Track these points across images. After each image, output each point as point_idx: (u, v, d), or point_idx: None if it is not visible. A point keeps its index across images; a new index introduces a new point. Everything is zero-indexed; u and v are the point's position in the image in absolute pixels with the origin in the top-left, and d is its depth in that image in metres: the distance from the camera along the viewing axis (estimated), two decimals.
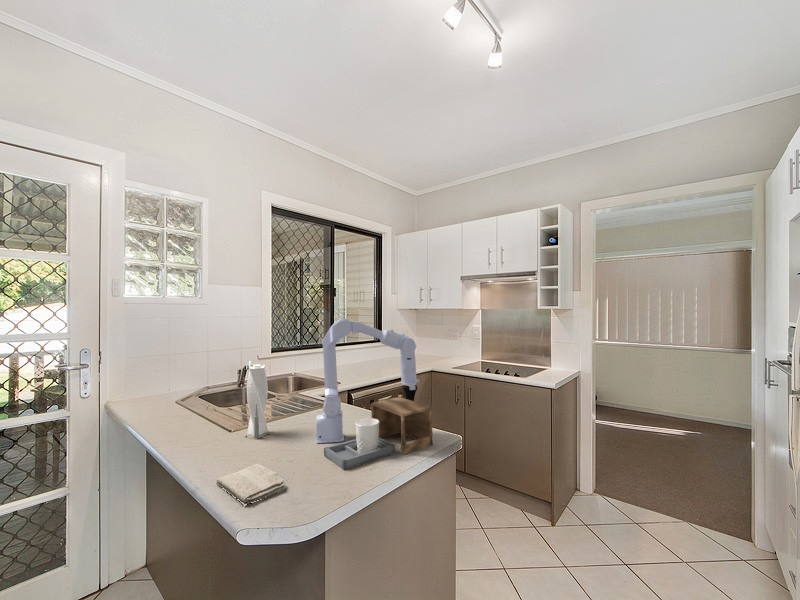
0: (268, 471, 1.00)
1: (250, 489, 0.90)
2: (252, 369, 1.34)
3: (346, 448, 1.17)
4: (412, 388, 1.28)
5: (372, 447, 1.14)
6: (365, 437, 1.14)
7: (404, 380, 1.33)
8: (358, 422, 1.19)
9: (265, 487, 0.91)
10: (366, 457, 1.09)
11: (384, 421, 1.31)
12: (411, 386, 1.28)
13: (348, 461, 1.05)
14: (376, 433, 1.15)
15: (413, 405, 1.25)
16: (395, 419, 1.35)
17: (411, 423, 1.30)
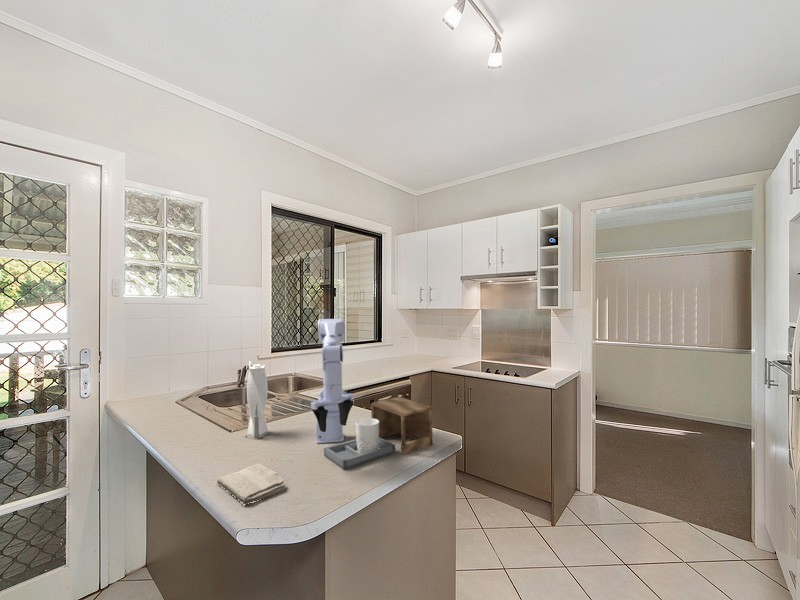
0: (268, 471, 1.00)
1: (250, 489, 0.90)
2: (252, 369, 1.34)
3: (346, 448, 1.17)
4: (312, 407, 1.06)
5: (372, 447, 1.14)
6: (365, 437, 1.14)
7: None
8: (358, 422, 1.19)
9: (265, 487, 0.91)
10: (366, 457, 1.09)
11: (384, 421, 1.31)
12: (311, 404, 1.06)
13: (348, 461, 1.05)
14: (376, 433, 1.15)
15: (413, 405, 1.25)
16: (395, 419, 1.35)
17: (411, 423, 1.30)
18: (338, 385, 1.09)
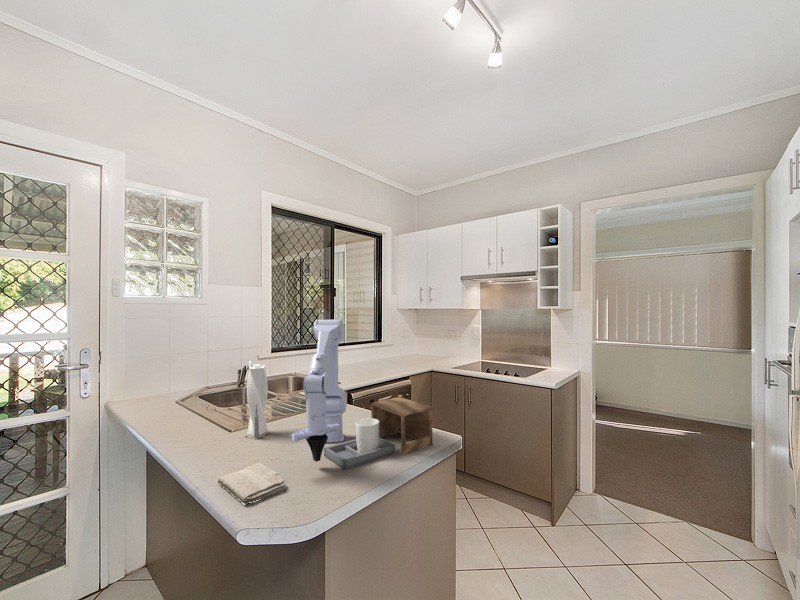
0: (269, 471, 1.00)
1: (251, 489, 0.90)
2: (252, 369, 1.34)
3: (346, 448, 1.17)
4: (292, 439, 1.02)
5: (372, 447, 1.14)
6: (365, 437, 1.14)
7: None
8: (358, 422, 1.19)
9: (265, 487, 0.91)
10: (366, 457, 1.09)
11: (384, 421, 1.31)
12: (292, 436, 1.02)
13: (348, 461, 1.05)
14: (376, 433, 1.15)
15: (413, 405, 1.25)
16: (395, 419, 1.35)
17: (411, 423, 1.30)
18: (320, 416, 1.04)
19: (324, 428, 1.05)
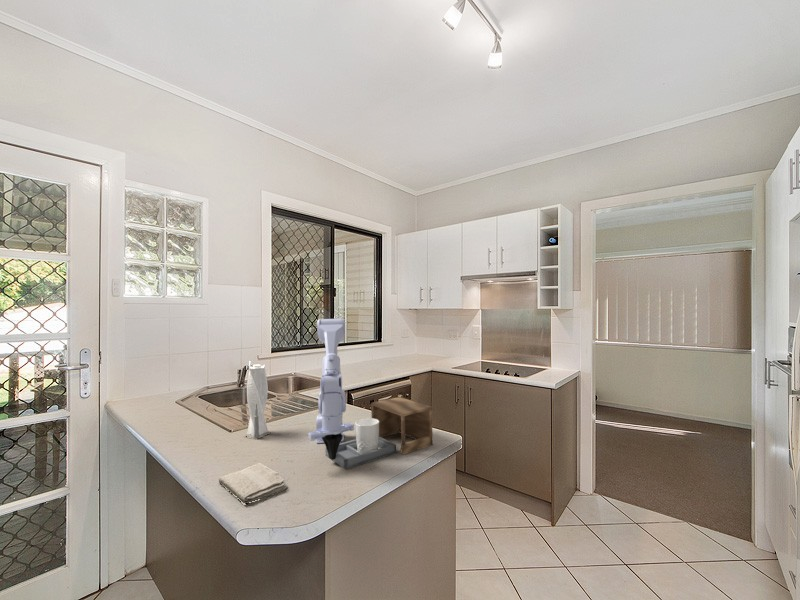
0: (269, 470, 1.00)
1: (251, 489, 0.90)
2: (252, 369, 1.34)
3: (347, 448, 1.17)
4: (309, 438, 1.05)
5: (372, 447, 1.14)
6: (365, 437, 1.14)
7: None
8: (358, 422, 1.19)
9: (265, 486, 0.91)
10: (367, 457, 1.10)
11: (384, 421, 1.31)
12: (309, 435, 1.05)
13: (349, 461, 1.06)
14: (376, 433, 1.15)
15: (413, 405, 1.25)
16: (395, 419, 1.35)
17: (411, 423, 1.30)
18: (336, 416, 1.08)
19: (339, 427, 1.09)
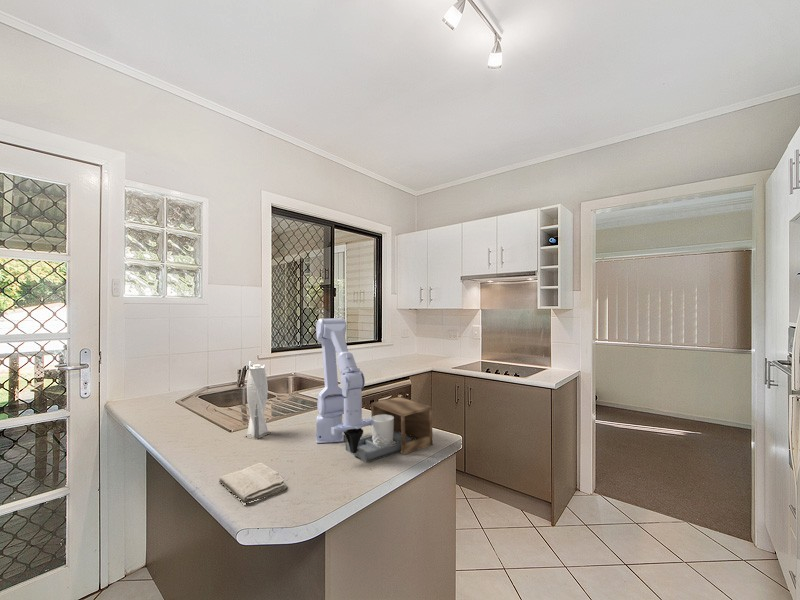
0: (270, 470, 1.00)
1: (251, 488, 0.90)
2: (252, 369, 1.34)
3: (366, 442, 1.22)
4: (332, 432, 1.10)
5: (388, 442, 1.18)
6: (381, 432, 1.18)
7: None
8: (373, 418, 1.23)
9: (265, 486, 0.91)
10: (387, 450, 1.14)
11: None
12: (332, 429, 1.10)
13: (370, 454, 1.10)
14: (392, 428, 1.19)
15: (413, 405, 1.25)
16: (395, 419, 1.35)
17: (411, 423, 1.30)
18: (357, 411, 1.12)
19: (360, 422, 1.13)
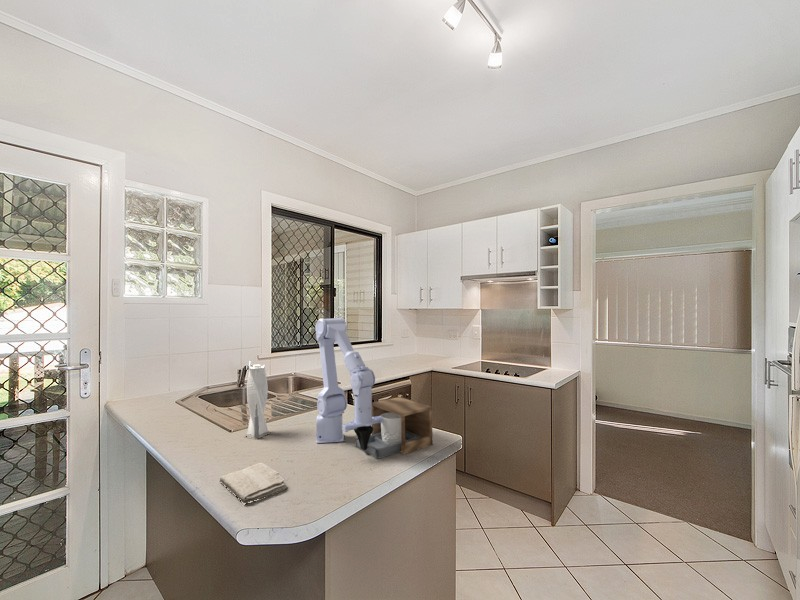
0: (270, 470, 1.00)
1: (251, 488, 0.90)
2: (252, 369, 1.34)
3: (376, 439, 1.24)
4: (343, 429, 1.12)
5: (397, 439, 1.21)
6: (391, 430, 1.20)
7: None
8: (382, 416, 1.25)
9: (265, 486, 0.92)
10: (396, 447, 1.17)
11: None
12: (343, 427, 1.12)
13: (380, 451, 1.13)
14: None
15: (413, 405, 1.25)
16: None
17: (411, 423, 1.30)
18: (368, 409, 1.15)
19: (370, 420, 1.16)
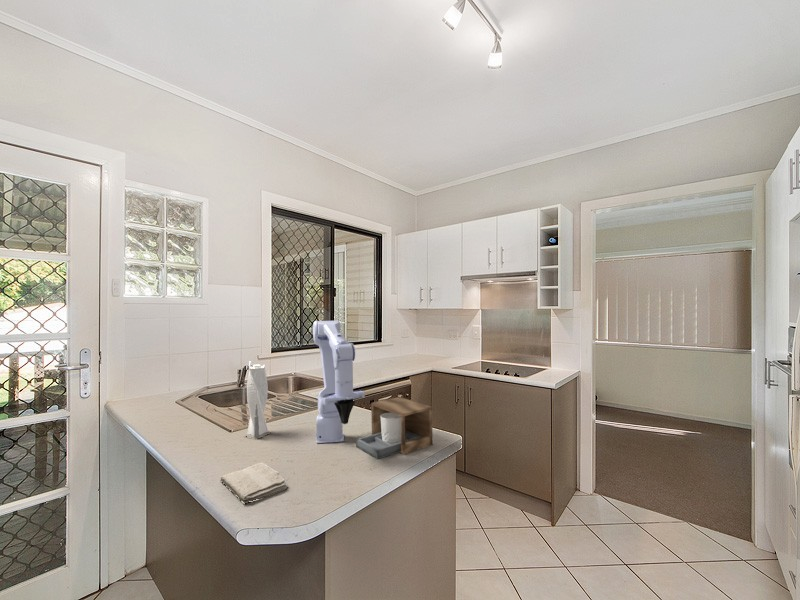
0: (271, 470, 1.00)
1: (251, 488, 0.90)
2: (252, 369, 1.34)
3: (376, 439, 1.24)
4: (323, 402, 1.11)
5: (397, 439, 1.21)
6: (391, 430, 1.20)
7: None
8: (382, 416, 1.26)
9: (265, 486, 0.92)
10: (397, 447, 1.17)
11: None
12: (323, 400, 1.11)
13: (381, 451, 1.13)
14: None
15: (413, 405, 1.25)
16: None
17: (411, 423, 1.30)
18: (348, 382, 1.13)
19: (351, 393, 1.15)
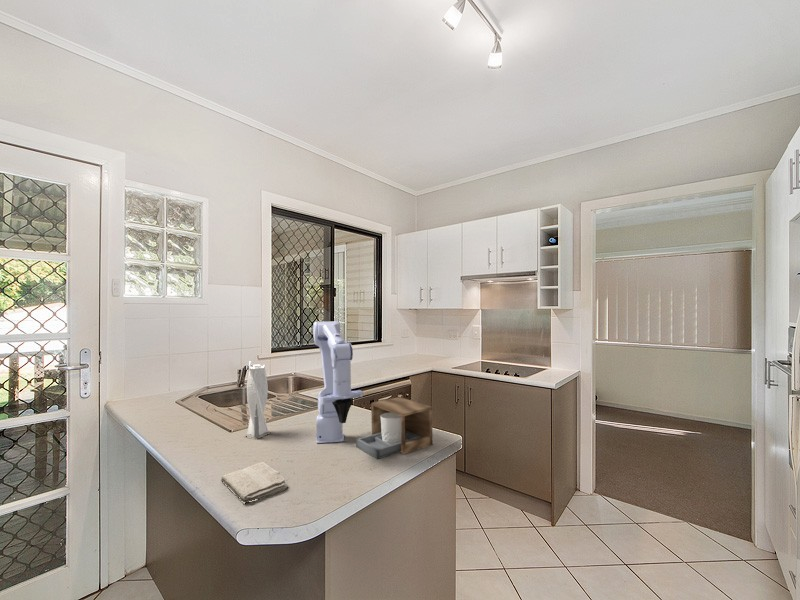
0: (271, 470, 1.00)
1: (251, 488, 0.90)
2: (252, 369, 1.34)
3: (376, 439, 1.24)
4: (321, 401, 1.12)
5: (397, 439, 1.21)
6: (391, 430, 1.20)
7: None
8: (382, 416, 1.26)
9: (265, 486, 0.92)
10: (397, 447, 1.17)
11: None
12: (321, 399, 1.12)
13: (381, 451, 1.13)
14: None
15: (413, 405, 1.25)
16: None
17: (411, 423, 1.30)
18: (346, 382, 1.14)
19: (349, 393, 1.15)
